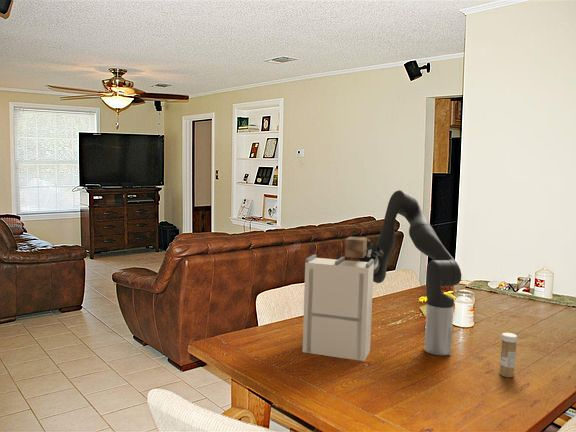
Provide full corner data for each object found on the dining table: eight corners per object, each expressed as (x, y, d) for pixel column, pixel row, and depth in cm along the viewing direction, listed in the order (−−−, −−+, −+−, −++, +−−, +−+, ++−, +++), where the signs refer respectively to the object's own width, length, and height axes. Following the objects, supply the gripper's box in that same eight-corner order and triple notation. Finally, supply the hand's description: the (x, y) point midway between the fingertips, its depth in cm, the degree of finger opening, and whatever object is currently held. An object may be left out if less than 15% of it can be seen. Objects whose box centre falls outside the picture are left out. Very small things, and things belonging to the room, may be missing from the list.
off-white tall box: (369, 350, 183) (374, 259, 180) (364, 361, 173) (368, 264, 170) (310, 342, 190) (313, 254, 187) (302, 352, 180) (305, 259, 177)
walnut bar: (373, 248, 191) (373, 232, 190) (362, 258, 170) (363, 240, 170) (357, 247, 193) (357, 231, 192) (344, 256, 172) (345, 239, 172)
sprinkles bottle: (496, 372, 167) (499, 332, 165) (509, 372, 167) (512, 332, 166) (503, 378, 162) (506, 336, 161) (517, 377, 163) (520, 336, 161)
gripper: (351, 248, 203) (344, 231, 188) (387, 251, 199) (382, 234, 184) (349, 266, 200) (341, 250, 185) (385, 269, 196) (380, 253, 181)
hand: (362, 242), depth 185 cm, fingers closed on walnut bar, 3 cm apart
